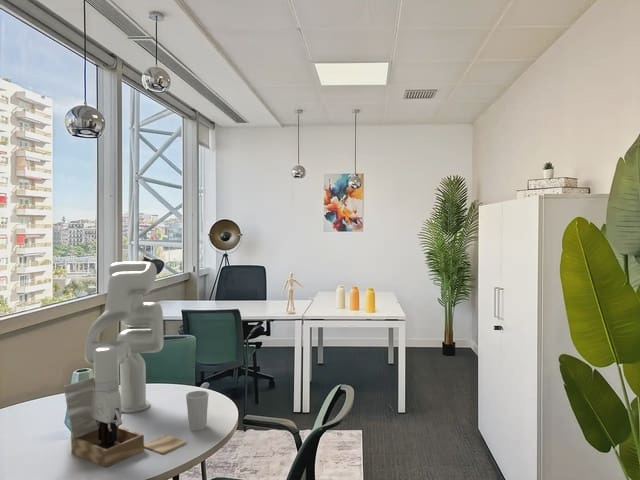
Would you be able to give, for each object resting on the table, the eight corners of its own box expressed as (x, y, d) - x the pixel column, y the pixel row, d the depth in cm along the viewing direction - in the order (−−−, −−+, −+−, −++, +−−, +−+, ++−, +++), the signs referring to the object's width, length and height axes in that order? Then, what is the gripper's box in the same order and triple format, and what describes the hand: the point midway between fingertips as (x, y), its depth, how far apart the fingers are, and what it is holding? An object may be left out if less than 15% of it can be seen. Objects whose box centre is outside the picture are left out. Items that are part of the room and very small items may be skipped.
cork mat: (142, 447, 170) (142, 445, 170) (166, 436, 179) (166, 434, 179) (163, 454, 165) (162, 452, 165) (186, 443, 174) (186, 441, 174)
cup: (203, 432, 183) (202, 398, 182) (182, 430, 184) (182, 397, 184) (212, 423, 191) (212, 391, 190) (192, 421, 192) (192, 390, 192)
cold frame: (64, 450, 168) (63, 385, 167) (102, 435, 180) (101, 374, 179) (106, 467, 157) (104, 397, 156) (143, 449, 169) (143, 385, 168)
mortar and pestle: (101, 447, 170) (100, 393, 170) (121, 446, 171) (120, 393, 170) (94, 456, 164) (93, 401, 163) (115, 455, 164) (114, 400, 164)
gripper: (80, 383, 168) (81, 438, 169) (112, 393, 159) (113, 451, 160) (101, 377, 174) (102, 430, 175) (133, 386, 165) (134, 442, 166)
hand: (107, 439), depth 167 cm, fingers closed on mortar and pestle, 3 cm apart
